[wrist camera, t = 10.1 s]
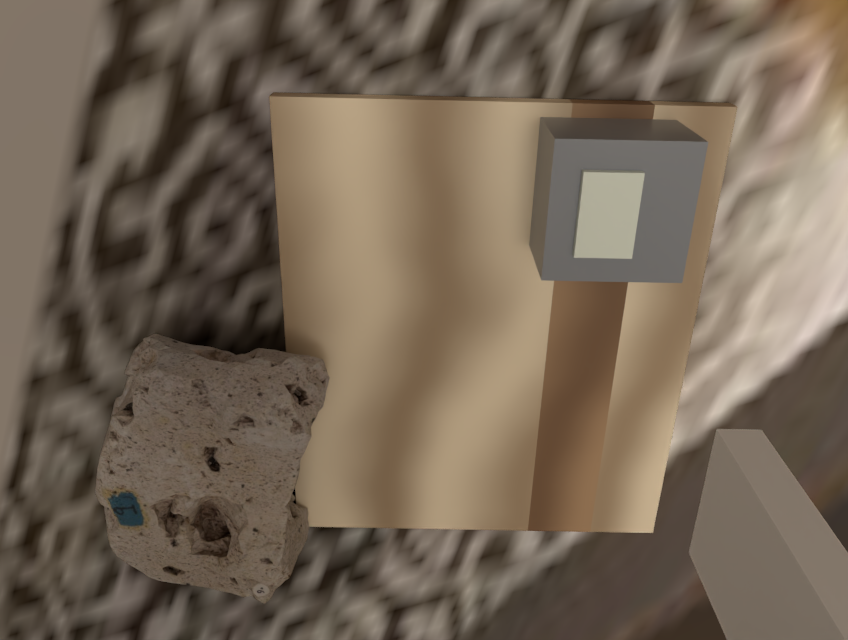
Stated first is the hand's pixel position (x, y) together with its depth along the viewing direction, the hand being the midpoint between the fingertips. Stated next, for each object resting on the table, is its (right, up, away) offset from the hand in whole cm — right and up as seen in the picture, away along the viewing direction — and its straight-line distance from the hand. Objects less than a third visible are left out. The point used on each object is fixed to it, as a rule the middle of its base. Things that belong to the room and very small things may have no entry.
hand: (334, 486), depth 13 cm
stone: (-7, -2, +21) cm, 23 cm away
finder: (+8, +8, +16) cm, 19 cm away
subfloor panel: (+4, +2, +19) cm, 20 cm away
